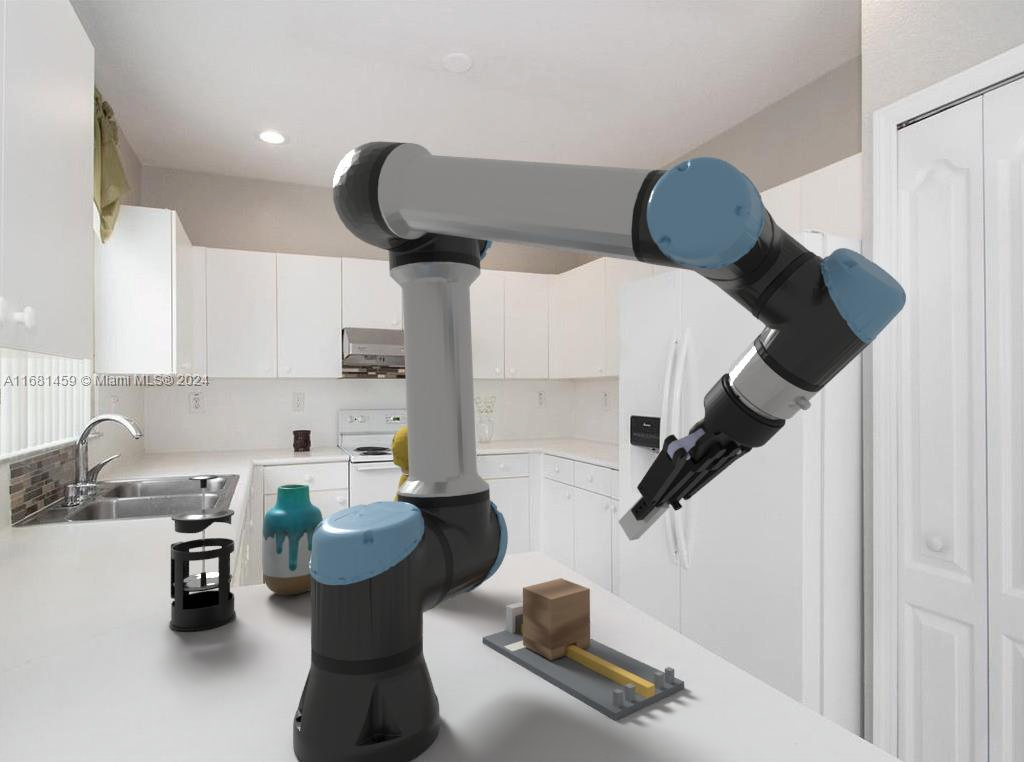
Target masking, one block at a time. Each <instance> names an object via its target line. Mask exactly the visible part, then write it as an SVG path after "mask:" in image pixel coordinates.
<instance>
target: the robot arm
mask: <svg viewBox="0 0 1024 762" xmlns="http://www.w3.org/2000/svg"><path fill="white" fill-rule="evenodd" d="M331 191H332V200H333V205H334V208H335V211H336V213H337V215H338V217H339V219H340V221H341V222H342V224H343V225H344V226H345V228H346V229H347V230H348V231H349V232H350V233H352V235H353V236H354V237H356V238H357V239H359V240H360V241H362V242H364V243H366V244H367V245H369V246H373V247H376V248H378V249H382V250H384V251H388V267H389V277H390V278H391V279H392V280H393V281H394V282H396V284H398V285H399V287H400V288H401V291H402V316H403V319H402V321H403V341H404V343H403V344H404V345H403V346H404V347H403V348H404V372H405V373H404V374H405V375H404V376H405V399H406V402H405V403H406V404H405V405H406V426H407V431H408V459H409V474H408V475H409V477H408V478H407V480H406V481H405V482H404V483H403V485H402V486H401V487H400V488H399V489H398V488H397V491H396V494H397V493H398V502H397V501H394V500H393V501H392V500H390V501H375V502H371V503H369V504H358V505H353V506H349V507H347V508H343V509H341V510H339V511H335V512H334V513H331V514H330V515H328V516H327V517H325V518H323V520H322V521H321V522H320V523H319V525H318V526H317V527H316V529H315V531H314V534H313V538H312V555H311V558H310V561H309V569H310V574H311V589H310V618H311V619H310V646H311V647H310V648H311V649H310V651H311V652H310V654H311V655H310V657H311V658H310V668H309V670H308V674H307V676H306V680H305V683H304V687H303V689H302V692H301V695H300V699H299V702H298V707H297V709H296V712H295V715H294V719H293V722H292V745H293V746H292V748H293V751H294V753H295V755H296V757H297V758H298V759H299V760H300V761H301V762H408V761H409V762H410V760H412V759H414V758H416V757H418V756H419V755H420V754H422V753H423V752H424V751H426V750H427V749H428V748H429V747H430V746H431V745H432V743H433V742H434V741H435V740H436V738H437V736H438V734H439V730H440V702H439V698H438V696H437V694H436V691H435V688H434V684H433V680H432V677H431V675H430V671H429V668H428V664H427V662H426V659H425V656H424V640H423V639H424V638H423V637H424V613H425V612H427V611H429V610H431V609H433V608H435V607H437V606H440V605H442V604H444V603H445V602H448V601H450V600H452V599H454V598H456V597H459V596H461V595H462V594H465V593H470V592H472V591H474V590H475V589H477V588H478V587H480V586H481V585H482V584H483V583H484V582H486V581H487V580H488V579H490V578H491V577H493V575H494V574H496V573H497V571H498V570H499V568H500V567H501V565H502V564H503V561H504V560H505V557H506V553H507V549H508V543H509V535H508V534H509V533H508V525H507V523H506V519H505V517H504V515H503V513H502V512H501V511H500V510H498V506H497V505H496V504H495V503H494V501H492V499H491V497H490V496H491V493H490V491H491V490H490V484H489V483H488V482H487V481H486V480H485V479H483V478H482V476H481V475H480V474H479V473H478V469H477V451H476V450H477V445H476V420H475V419H476V418H475V395H474V393H475V392H474V373H473V371H474V370H473V369H474V367H473V347H472V346H473V345H472V343H473V342H472V321H471V319H472V317H471V293H470V291H471V288H470V287H471V285H473V283H474V282H475V281H476V280H477V278H479V277H480V276H481V262H482V261H483V260H484V259H485V257H486V256H487V251H488V249H490V248H491V247H492V244H493V242H497V243H503V244H511V245H517V246H518V245H519V246H525V247H526V246H527V247H534V248H538V249H539V248H540V249H547V250H554V251H562V252H569V253H577V254H583V255H589V256H597V257H603V258H612V259H620V260H626V261H633V262H638V263H639V262H640V263H645V264H649V265H655V266H662V267H669V268H675V269H681V270H686V271H693V272H695V273H696V274H698V275H699V276H702V277H703V278H705V280H708V281H709V282H711V283H713V285H716V286H717V287H718V288H719V289H720V290H722V291H723V292H724V293H725V294H726V295H728V296H729V297H731V298H732V299H733V300H734V301H735V302H736V303H738V304H739V305H740V306H742V307H743V308H744V309H745V310H747V311H748V312H749V313H750V314H751V315H752V316H753V317H754V318H756V319H757V320H759V321H760V322H761V323H763V324H764V325H763V326H765V327H764V328H763V330H762V331H761V333H759V335H758V336H757V337H756V338H755V339H754V340H753V341H752V342H751V343H750V345H749V346H748V347H747V348H746V349H745V350H744V351H743V352H742V353H741V354H740V355H739V356H738V358H737V359H736V360H734V362H733V363H732V364H731V365H730V367H729V368H728V373H724V374H722V376H721V377H720V378H719V380H717V381H716V382H715V384H714V385H713V386H712V387H711V388H710V390H708V391H707V393H706V394H705V396H704V398H703V407H704V417H703V418H701V420H698V421H697V422H696V423H694V425H692V427H691V428H690V429H689V431H688V434H687V435H685V436H684V437H682V438H679V439H678V438H677V437H676V435H675V434H670V435H668V436H666V437H665V438H664V440H663V443H662V444H663V445H662V449H661V450H660V452H659V453H658V455H657V456H656V458H655V460H654V461H653V462H652V464H651V465H650V467H649V468H648V470H647V471H646V473H645V475H644V476H643V477H642V478H641V481H640V482H639V483H638V485H637V487H636V489H637V490H638V491H639V493H640V495H641V496H640V498H638V500H636V502H635V503H634V504H633V505H632V506H631V507H630V508H629V509H628V510H627V512H626V513H625V514H623V516H622V517H621V518H620V519H619V520H618V524H619V526H620V527H621V528H622V530H623V532H624V533H625V535H626V536H627V539H628V540H629V541H634V540H638V539H641V538H642V536H643V535H644V534H645V533H646V532H647V531H648V530H649V528H651V527H652V526H653V524H655V523H656V522H657V521H658V519H660V518H661V517H662V516H663V515H664V514H665V512H666V511H667V510H668V509H670V506H671V507H672V509H674V511H679V510H680V509H682V508H683V506H682V504H681V503H680V501H681V500H682V499H683V500H684V501H688V500H690V499H691V498H692V497H694V495H696V494H697V493H699V491H700V490H702V489H703V488H704V487H706V486H707V485H708V484H709V483H710V482H711V481H713V480H714V479H715V478H716V477H717V476H719V475H720V474H721V473H723V472H724V471H725V470H726V469H727V468H729V467H730V466H731V465H733V463H735V462H736V461H737V460H739V459H740V458H741V457H743V456H745V455H746V454H748V453H750V452H751V450H752V449H754V448H755V449H756V448H760V447H761V448H762V447H763V446H765V445H766V444H767V443H768V442H769V441H770V440H771V439H772V438H773V437H774V436H775V435H776V434H777V433H778V432H780V430H781V429H783V427H784V426H785V425H786V421H787V420H790V419H792V418H793V417H794V416H795V415H796V414H797V413H798V412H799V411H800V410H802V411H807V410H809V409H810V408H811V406H812V403H811V402H810V400H811V399H812V398H813V397H815V396H816V395H817V394H818V393H819V392H820V391H821V390H822V389H823V388H825V386H827V385H828V384H829V382H831V381H832V380H833V379H834V378H835V377H836V376H837V375H838V374H839V373H841V372H842V371H843V370H844V369H845V368H846V367H847V366H848V365H849V364H850V363H852V361H853V360H855V358H856V357H857V356H858V355H860V354H861V353H862V352H863V351H864V350H865V349H866V348H867V347H868V346H869V345H871V343H872V342H874V340H876V339H877V338H878V336H879V335H880V333H881V332H883V331H884V329H886V328H887V326H888V325H889V324H890V323H891V322H892V321H893V320H894V319H895V318H896V316H898V315H899V313H900V312H901V311H902V310H903V309H904V307H905V305H906V302H907V295H906V291H905V289H904V287H903V286H902V285H901V284H900V282H899V281H897V280H896V278H894V277H893V276H892V275H891V274H890V273H889V272H887V271H886V270H885V269H884V268H883V267H881V266H880V265H878V264H877V263H875V262H873V261H871V260H869V259H868V258H867V257H865V256H864V255H862V254H861V253H858V252H857V251H855V250H852V249H849V248H845V247H840V248H837V249H835V250H834V251H833V252H831V254H830V255H827V256H825V257H824V258H823V257H822V256H820V255H818V254H816V253H814V252H813V251H811V250H809V249H808V248H807V247H805V246H804V245H803V244H802V243H800V242H799V240H797V239H795V238H794V237H793V236H792V235H790V234H789V233H788V232H786V231H785V230H784V229H782V227H781V226H779V225H778V224H777V223H776V221H775V219H774V218H773V216H772V214H771V213H770V212H769V211H768V209H767V208H766V207H765V205H764V202H763V200H762V195H761V193H760V192H759V190H758V189H757V187H756V186H755V184H754V183H753V181H752V180H751V179H750V178H749V177H748V176H747V175H746V173H743V172H741V171H740V170H739V169H738V168H737V167H736V166H734V165H733V164H732V163H729V162H727V160H724V159H721V158H717V157H712V156H711V157H710V156H703V157H702V156H700V157H698V156H697V157H694V158H691V159H688V160H686V161H682V162H681V163H679V164H676V165H675V166H673V167H671V168H670V169H668V170H667V169H666V170H665V169H664V170H663V169H647V168H646V169H645V168H634V167H633V168H630V167H618V166H617V167H616V166H602V165H589V164H587V165H584V164H573V163H571V164H570V163H556V162H554V163H553V162H543V161H542V162H541V161H540V162H539V161H538V162H537V161H525V160H523V161H522V160H511V159H510V160H509V159H496V158H495V159H493V158H482V157H481V158H479V157H468V156H467V157H465V156H452V155H451V156H450V155H435V154H432V152H430V151H429V149H428V148H426V147H425V146H423V145H421V144H419V143H414V142H413V143H412V142H397V141H383V140H382V141H380V140H379V141H370V142H366V143H363V144H361V145H359V146H357V147H355V148H354V149H352V150H351V151H350V152H348V153H347V154H346V155H345V156H344V158H343V159H342V160H341V161H340V163H339V165H338V166H337V169H336V171H335V174H334V177H333V182H332V190H331Z"/></svg>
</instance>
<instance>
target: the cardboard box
mask: <svg viewBox="0 0 1024 762" xmlns="http://www.w3.org/2000/svg"><path fill="white" fill-rule="evenodd" d="M522 601H523V645H524V646H525V647H527V648H529V649H531V650H533V651H535V652H537V653H538V654H540V655H542V656H544V657H546V658H548V659H549V660H554V659H557V658H560V657H563V656H565V655H566V645H569V644H572V645H574V646H576V647H579V648H581V649H585V648H588V647H590V639H591V605H590V604H591V589H590V588H589V587H586V586H582V585H580V584H578V583H575V582H572V581H569V580H567V579H565V578H561V577H560V578H557V579H553V580H548V581H544V582H541V583H536V584H531V585H529V586H524V587H522Z"/></svg>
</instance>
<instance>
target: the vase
mask: <svg viewBox="0 0 1024 762" xmlns="http://www.w3.org/2000/svg"><path fill="white" fill-rule="evenodd" d="M276 495H277V496H276V502H275V505H274V507H272V508H270V509H269V510H268V511H267V512H266V513H265V515H264V518H263V524H262V531H261V566H262V577H263V580H264V582H265V585H266V587H267V588H268V589H269V590H270V592H273V593H275V594H278V595H283V596H284V595H286V596H287V595H288V596H289V595H298V594H302V593H305V592H308V591H309V590H310V591H311V574H310V569H309V561H310V558H311V555H312V538H313V534H314V531H315V529H316V527H317V526H318V525H319V523H320V522H321V521H322V520H324V518H323V514H322V511H321V509H320V508H319V507H317V506H316V505H314V504H312V502H311V498H310V486H309V484H304V483H292V484H289V483H288V484H283V485H279V486H278V487H277V493H276Z"/></svg>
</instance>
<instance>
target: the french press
mask: <svg viewBox="0 0 1024 762" xmlns="http://www.w3.org/2000/svg"><path fill="white" fill-rule="evenodd" d="M218 478H219V476H218V475H215V474H198V475H192V476H190V477H189V478H188V480H190V481H199V484H200V486H199V487H200V489H202V490H201V492H202V493H201V495H202V496H201V497H202V499H201V500H202V501H201V502H202V505H201V506H202V507H201V509H195V510H188V511H182V512H179V513H175V514H173V515H172V516H171V519H170V520H172V521H173V522H174V532H176V533H180V534H197V533H201V532H202V533H201V538H199V539H192V540H187V541H177V542H174V543H171V544H170V598H171V599H173V601H172V602H171V603H170V604H171V605H170V606H171V607H170V609H171V610H170V611H171V612H170V614H171V615H170V621H169V628H170V629H171V630H172V631H175V632H184V633H191V632H192V633H193V632H195V633H196V632H203V631H209V630H212V629H213V630H214V629H216V628H219V627H223V626H225V625H227V624H229V623H231V622H232V621H234V619H236V616H237V613H236V610H235V593H233V592H231V581H232V579H233V575H232V573H231V554H232V553H234V551H235V541H234V540H233V539H231V538H226V537H225V538H224V537H209V538H206V534H205V533H206V531H205V530H206V529H207V528H209V527H210V526H211V525H212V524H214V523H225V524H229V525H232V517H233V516H234V515H235V511H234V510H232V509H229V508H206V489H207V488H208V480H209V481H210V480H215V479H218ZM206 547H207V548H208V547H219V548H215V549H210V550H206ZM198 548H202V549H201V551H190V550H192V549H198ZM216 558H217V559H218V570H217V572H216V571H212V572H210V571H209V572H206V570H205V568H206V565H205V564H206V561H205V560H211V559H216ZM193 561H201V563H202V564H201V567H202V568H201V572H200V573H195V574H191V575H190V562H193Z"/></svg>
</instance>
